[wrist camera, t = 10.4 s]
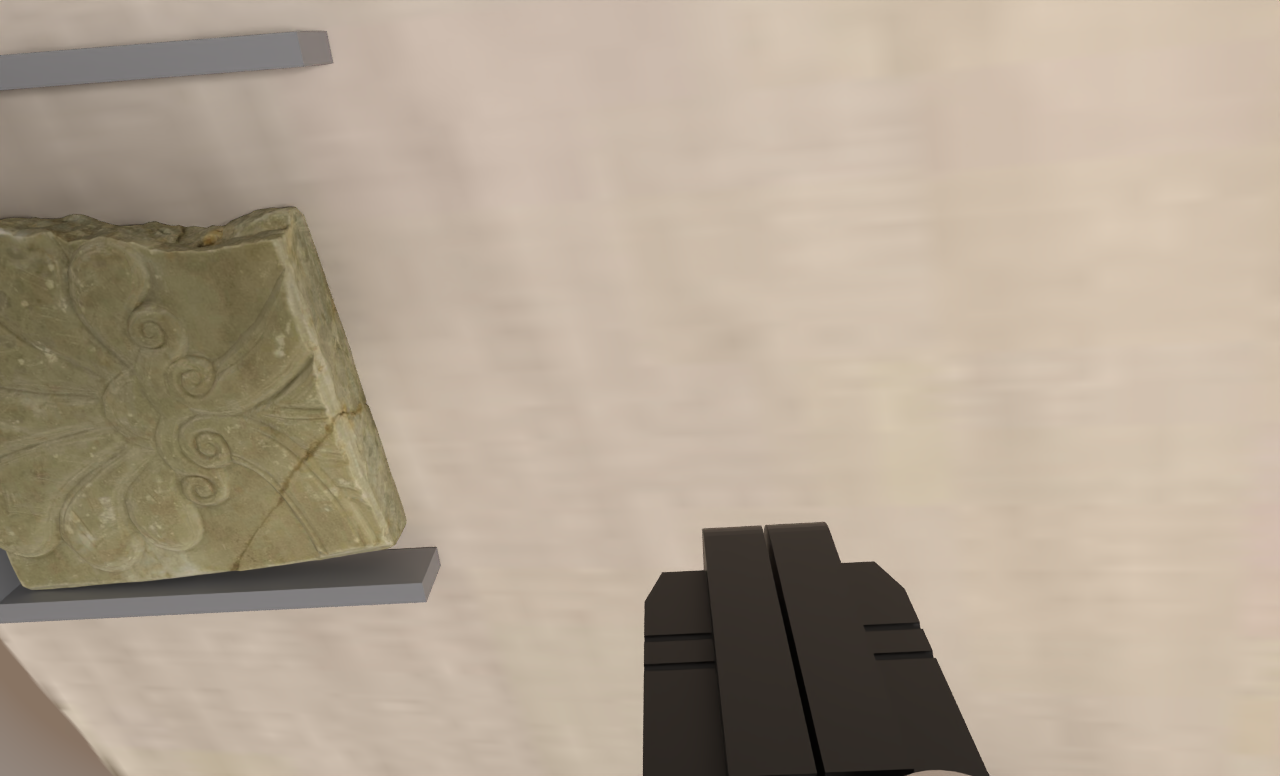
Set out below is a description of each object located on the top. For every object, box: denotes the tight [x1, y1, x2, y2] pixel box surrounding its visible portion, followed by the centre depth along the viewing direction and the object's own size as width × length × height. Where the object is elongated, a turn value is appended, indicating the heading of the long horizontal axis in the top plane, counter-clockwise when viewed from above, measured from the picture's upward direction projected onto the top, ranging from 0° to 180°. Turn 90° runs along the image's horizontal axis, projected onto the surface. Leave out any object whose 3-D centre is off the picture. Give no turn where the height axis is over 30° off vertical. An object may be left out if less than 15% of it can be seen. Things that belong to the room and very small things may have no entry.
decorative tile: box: [0, 207, 406, 590], centre depth 38 cm, size 19×20×4 cm
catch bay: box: [0, 31, 441, 623], centre depth 37 cm, size 26×23×3 cm
